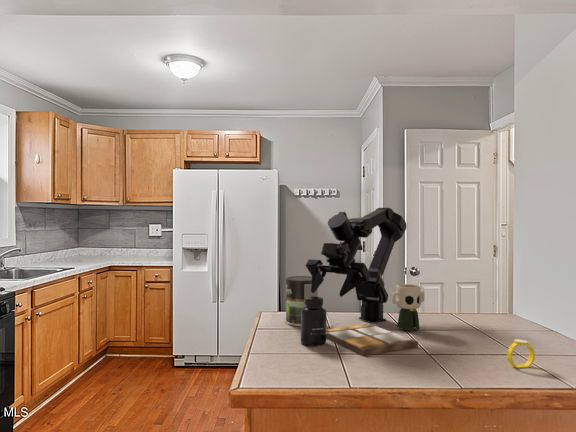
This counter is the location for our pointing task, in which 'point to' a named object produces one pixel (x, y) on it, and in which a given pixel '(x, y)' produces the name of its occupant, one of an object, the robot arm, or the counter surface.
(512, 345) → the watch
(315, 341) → the supplement bottle
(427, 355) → the counter surface
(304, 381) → the counter surface
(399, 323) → the character mug
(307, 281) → the coffee can
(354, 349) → the wooden tray
